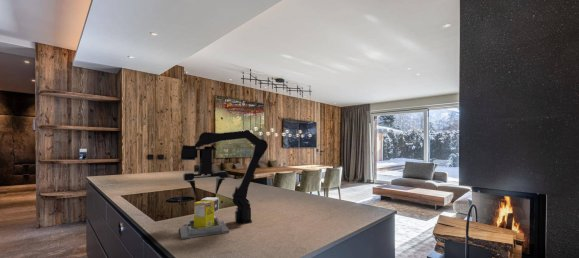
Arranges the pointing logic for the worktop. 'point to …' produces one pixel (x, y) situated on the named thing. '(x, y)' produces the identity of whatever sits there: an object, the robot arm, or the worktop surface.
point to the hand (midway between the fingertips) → (205, 194)
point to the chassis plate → (202, 229)
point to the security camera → (216, 203)
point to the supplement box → (203, 214)
